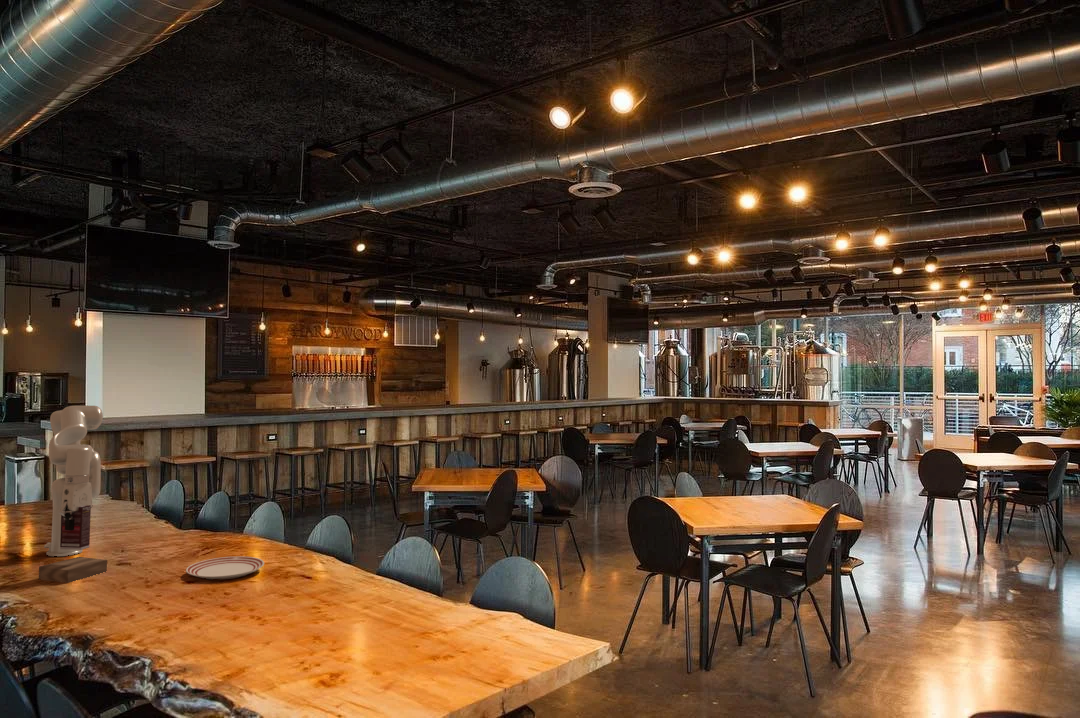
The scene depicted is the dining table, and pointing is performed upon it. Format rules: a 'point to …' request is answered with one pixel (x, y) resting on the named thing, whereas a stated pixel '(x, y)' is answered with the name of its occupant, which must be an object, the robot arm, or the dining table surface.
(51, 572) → the walnut block
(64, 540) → the supplement box
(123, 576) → the dining table surface
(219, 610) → the dining table surface
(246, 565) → the dinner plate
